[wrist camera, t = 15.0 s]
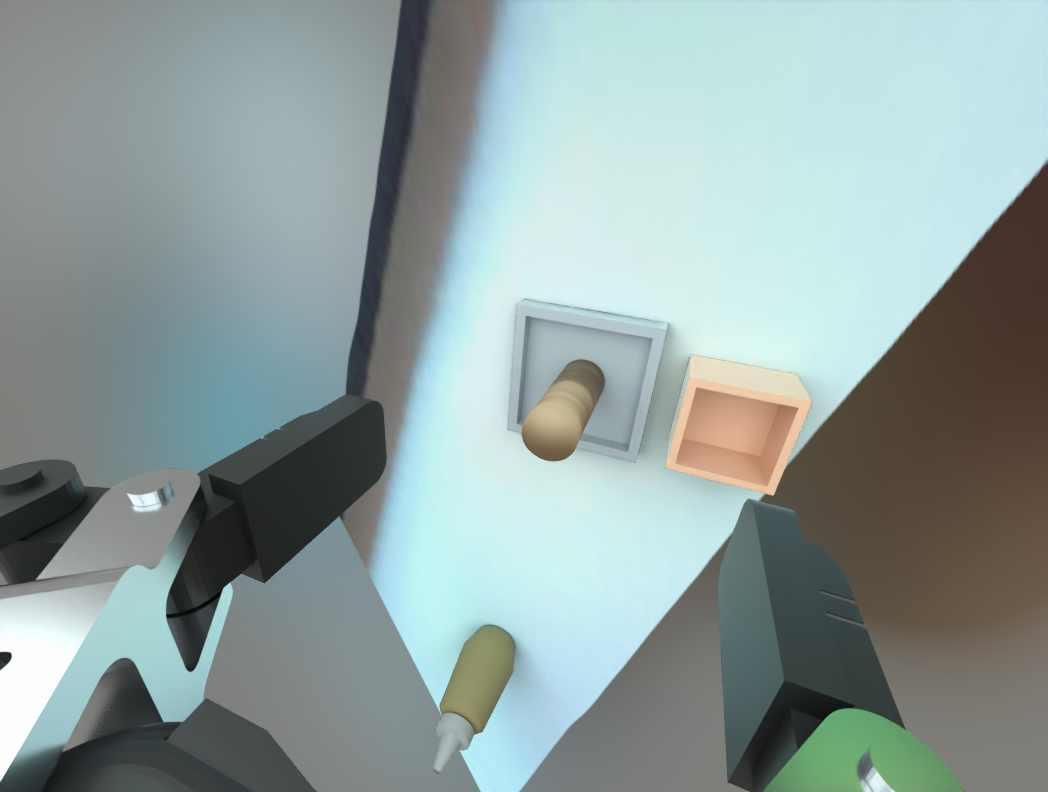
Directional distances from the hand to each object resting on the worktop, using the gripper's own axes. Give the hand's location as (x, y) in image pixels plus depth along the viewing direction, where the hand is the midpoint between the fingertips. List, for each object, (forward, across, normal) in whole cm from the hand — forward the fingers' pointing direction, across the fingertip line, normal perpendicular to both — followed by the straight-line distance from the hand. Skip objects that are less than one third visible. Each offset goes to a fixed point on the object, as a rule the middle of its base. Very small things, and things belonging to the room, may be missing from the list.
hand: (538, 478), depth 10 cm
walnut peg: (+33, +5, +12) cm, 36 cm away
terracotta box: (+34, -9, +12) cm, 37 cm away
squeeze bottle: (+34, +12, +57) cm, 68 cm away
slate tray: (+34, +5, +12) cm, 36 cm away
